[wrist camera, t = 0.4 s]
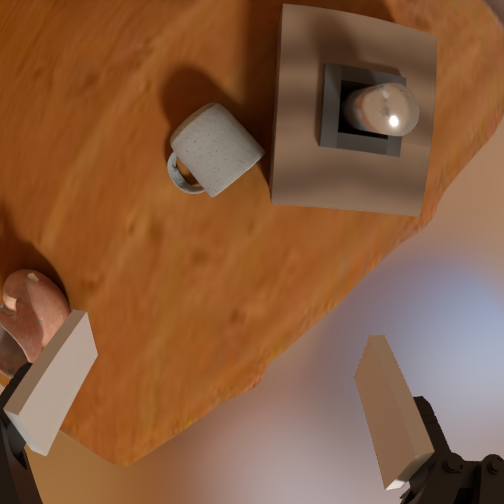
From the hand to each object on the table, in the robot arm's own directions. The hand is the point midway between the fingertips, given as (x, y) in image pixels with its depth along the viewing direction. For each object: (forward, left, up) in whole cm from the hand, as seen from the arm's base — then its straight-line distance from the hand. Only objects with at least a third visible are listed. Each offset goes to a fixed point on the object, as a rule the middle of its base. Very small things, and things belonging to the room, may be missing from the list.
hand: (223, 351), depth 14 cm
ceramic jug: (+19, -34, -28) cm, 47 cm away
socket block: (-12, +11, -27) cm, 31 cm away
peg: (-12, +11, -20) cm, 25 cm away
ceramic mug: (-5, -4, -28) cm, 28 cm away
